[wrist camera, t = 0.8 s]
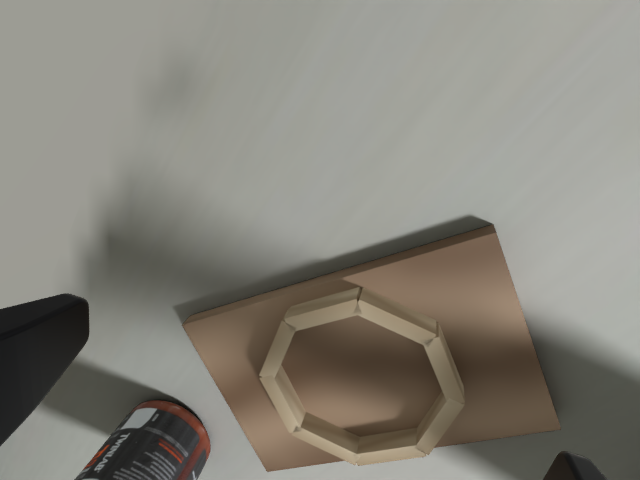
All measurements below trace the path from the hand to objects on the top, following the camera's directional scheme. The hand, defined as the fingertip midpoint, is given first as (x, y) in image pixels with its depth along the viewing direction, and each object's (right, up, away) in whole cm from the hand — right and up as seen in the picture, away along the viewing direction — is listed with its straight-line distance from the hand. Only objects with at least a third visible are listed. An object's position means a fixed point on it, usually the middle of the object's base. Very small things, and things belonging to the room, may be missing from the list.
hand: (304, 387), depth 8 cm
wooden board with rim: (+3, -4, +17) cm, 17 cm away
